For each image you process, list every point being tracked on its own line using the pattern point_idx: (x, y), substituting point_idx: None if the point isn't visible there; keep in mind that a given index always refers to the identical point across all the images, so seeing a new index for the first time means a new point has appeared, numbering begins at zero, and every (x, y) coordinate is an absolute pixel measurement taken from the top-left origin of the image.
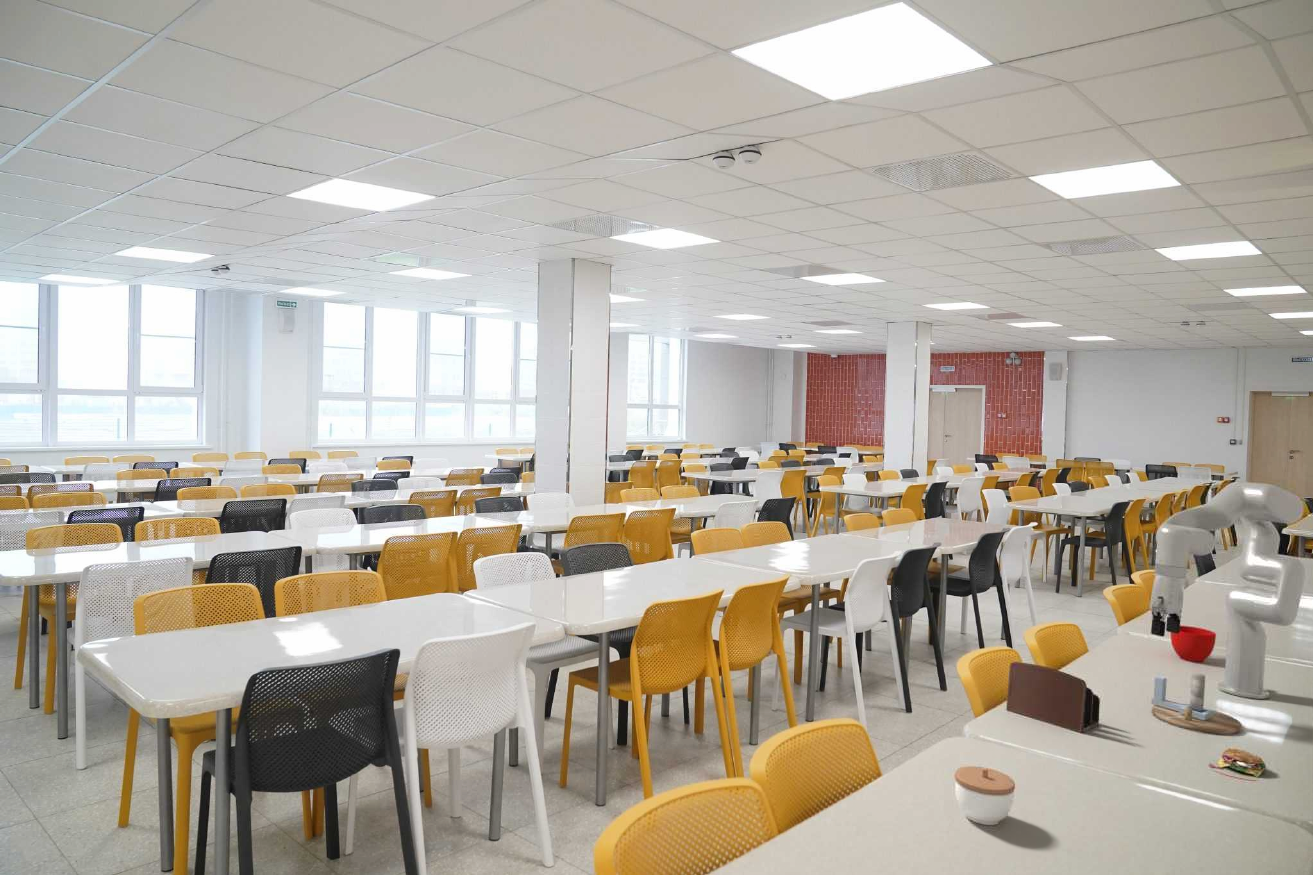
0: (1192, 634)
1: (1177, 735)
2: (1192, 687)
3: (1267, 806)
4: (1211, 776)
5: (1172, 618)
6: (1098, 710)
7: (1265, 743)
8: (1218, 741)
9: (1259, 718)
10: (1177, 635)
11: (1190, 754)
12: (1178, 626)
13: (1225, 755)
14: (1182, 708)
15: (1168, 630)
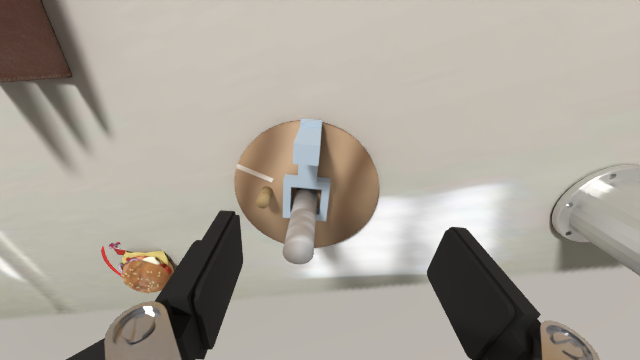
0: None
1: (190, 190)
2: (289, 223)
3: (68, 294)
4: (79, 251)
5: (495, 335)
6: (30, 78)
7: (285, 267)
8: None
9: (415, 246)
10: None
11: (126, 221)
12: (447, 310)
13: (124, 265)
14: (284, 184)
15: (445, 240)
